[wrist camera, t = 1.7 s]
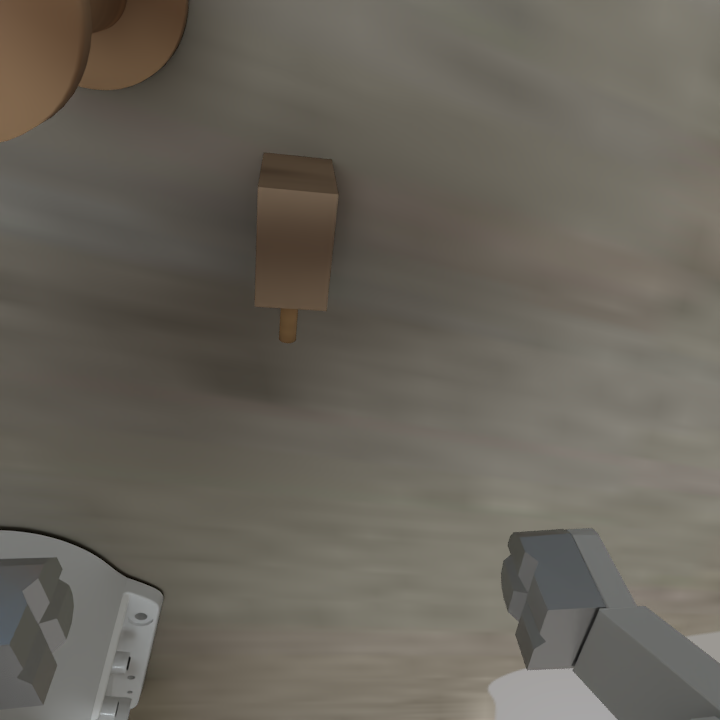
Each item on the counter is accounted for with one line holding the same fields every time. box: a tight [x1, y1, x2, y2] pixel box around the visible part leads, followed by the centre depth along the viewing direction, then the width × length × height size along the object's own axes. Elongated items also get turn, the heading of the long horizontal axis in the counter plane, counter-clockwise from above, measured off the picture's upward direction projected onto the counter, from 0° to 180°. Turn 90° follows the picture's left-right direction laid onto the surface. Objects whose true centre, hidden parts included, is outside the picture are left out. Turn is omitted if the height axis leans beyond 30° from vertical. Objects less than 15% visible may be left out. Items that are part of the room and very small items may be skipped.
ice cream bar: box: [255, 153, 339, 343], centre depth 26 cm, size 8×3×5 cm, turn 173°
